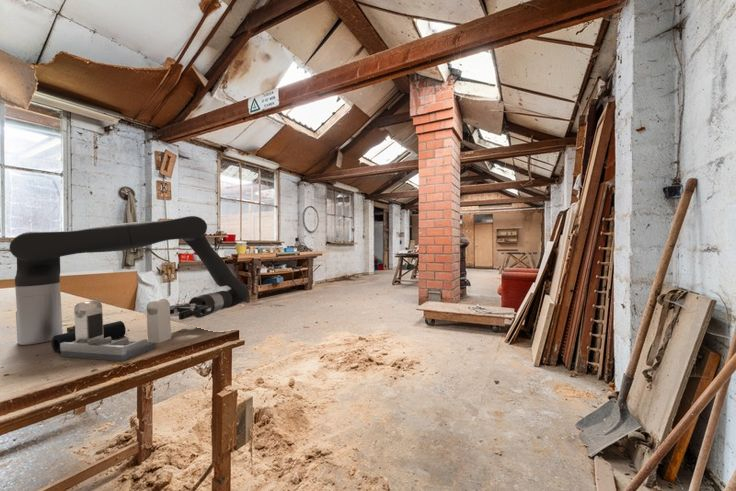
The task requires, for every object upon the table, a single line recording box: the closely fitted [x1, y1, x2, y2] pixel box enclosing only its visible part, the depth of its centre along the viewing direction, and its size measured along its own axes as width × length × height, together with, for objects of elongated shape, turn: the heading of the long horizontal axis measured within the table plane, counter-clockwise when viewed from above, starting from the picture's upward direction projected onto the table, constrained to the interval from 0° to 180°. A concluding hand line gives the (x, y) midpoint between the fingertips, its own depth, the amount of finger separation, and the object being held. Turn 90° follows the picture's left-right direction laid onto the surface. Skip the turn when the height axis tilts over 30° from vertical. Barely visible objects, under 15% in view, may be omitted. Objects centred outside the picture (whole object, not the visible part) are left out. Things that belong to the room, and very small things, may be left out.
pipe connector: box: [51, 320, 126, 354], centre depth 89 cm, size 12×5×15 cm
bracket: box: [60, 299, 156, 362], centre depth 80 cm, size 20×9×14 cm, turn 78°
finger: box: [145, 298, 172, 344], centre depth 89 cm, size 4×4×12 cm
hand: (168, 316), depth 92 cm, fingers open, 8 cm apart
